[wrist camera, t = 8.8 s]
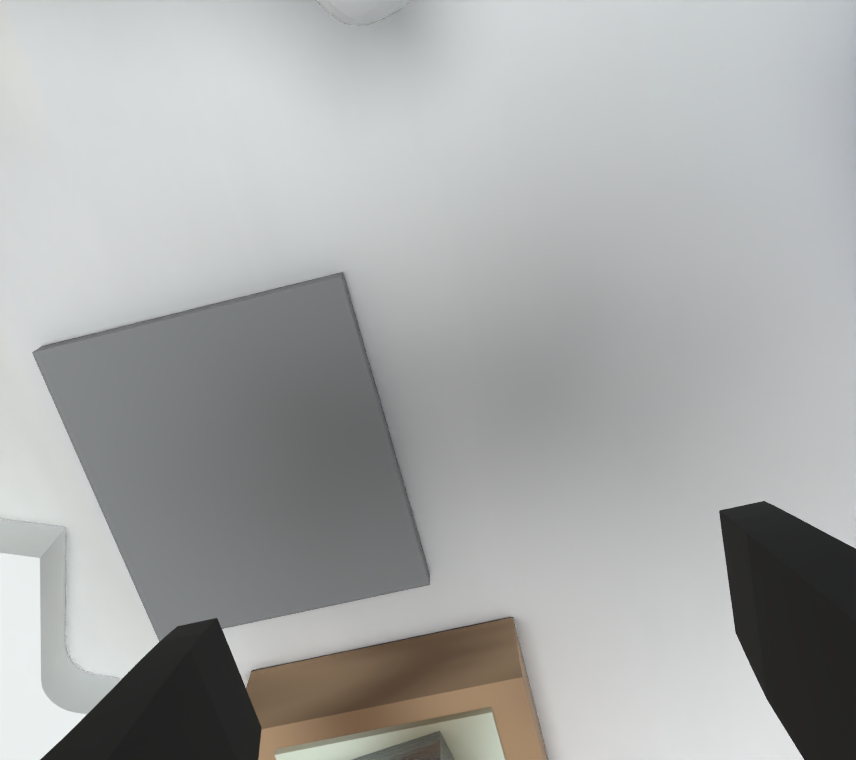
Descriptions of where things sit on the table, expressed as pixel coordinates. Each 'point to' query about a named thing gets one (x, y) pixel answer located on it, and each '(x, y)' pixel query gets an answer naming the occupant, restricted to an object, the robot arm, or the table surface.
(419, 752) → the block
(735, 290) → the table surface
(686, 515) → the table surface
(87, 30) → the table surface
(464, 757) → the stand
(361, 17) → the mug
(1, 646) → the mounting plate
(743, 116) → the table surface
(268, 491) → the mat
